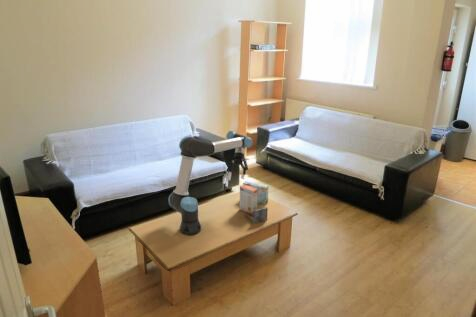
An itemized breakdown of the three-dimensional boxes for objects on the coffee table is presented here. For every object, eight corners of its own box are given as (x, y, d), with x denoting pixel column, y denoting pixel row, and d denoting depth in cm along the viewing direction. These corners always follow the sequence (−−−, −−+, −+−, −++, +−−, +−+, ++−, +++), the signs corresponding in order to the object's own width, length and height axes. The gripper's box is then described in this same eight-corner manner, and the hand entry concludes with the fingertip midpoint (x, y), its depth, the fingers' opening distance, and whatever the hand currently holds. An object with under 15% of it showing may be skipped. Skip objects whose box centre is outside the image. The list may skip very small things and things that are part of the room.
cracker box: (257, 213, 271) (258, 189, 263) (252, 216, 266) (252, 191, 259) (244, 207, 280) (244, 183, 273) (239, 209, 276) (239, 185, 269)
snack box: (268, 202, 289) (268, 185, 284) (265, 204, 285) (266, 188, 280) (245, 196, 298) (245, 180, 293) (242, 199, 294) (242, 182, 289)
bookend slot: (253, 223, 256) (253, 211, 252) (244, 216, 266) (244, 204, 263) (267, 219, 261) (267, 207, 258) (258, 212, 272) (258, 201, 268)
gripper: (255, 153, 267) (251, 179, 260) (230, 157, 283) (226, 182, 276) (249, 149, 262) (245, 176, 255) (224, 153, 278) (220, 178, 270)
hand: (235, 179), depth 265 cm, fingers open, 13 cm apart
